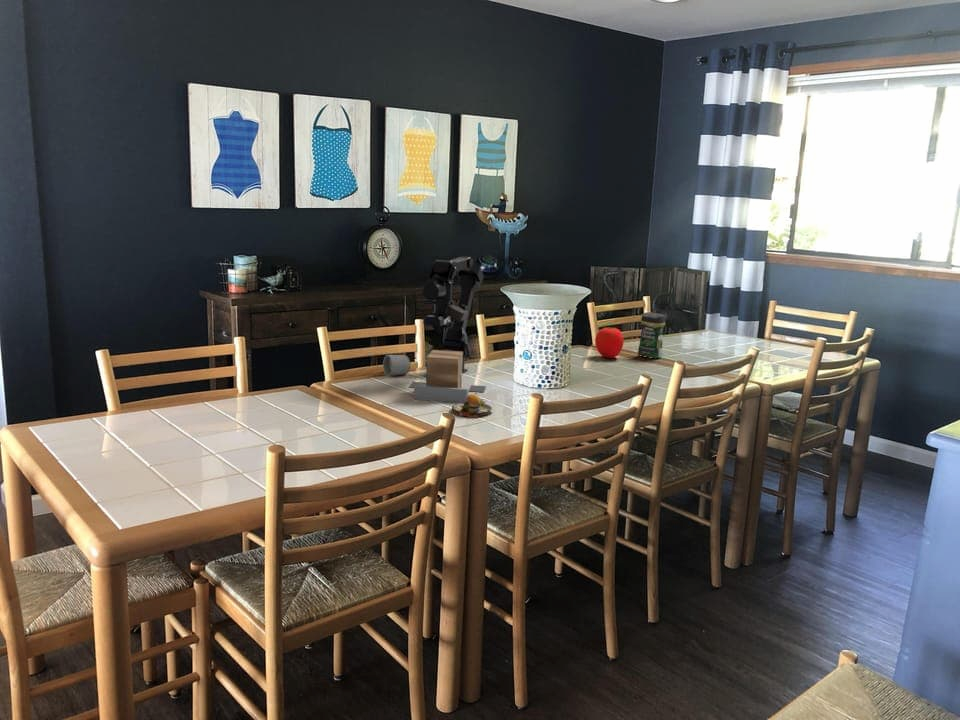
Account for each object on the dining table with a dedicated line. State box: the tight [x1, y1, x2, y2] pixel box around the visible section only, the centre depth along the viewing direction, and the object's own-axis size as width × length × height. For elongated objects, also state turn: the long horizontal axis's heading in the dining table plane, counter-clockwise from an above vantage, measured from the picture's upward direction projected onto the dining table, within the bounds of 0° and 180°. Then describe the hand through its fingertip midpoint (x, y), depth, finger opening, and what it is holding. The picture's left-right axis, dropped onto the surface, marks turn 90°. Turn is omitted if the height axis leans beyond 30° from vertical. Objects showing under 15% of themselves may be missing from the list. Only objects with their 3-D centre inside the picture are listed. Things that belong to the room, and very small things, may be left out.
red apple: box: [594, 326, 625, 359], centre depth 317 cm, size 11×11×13 cm
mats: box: [408, 381, 487, 393], centre depth 259 cm, size 8×25×1 cm, turn 85°
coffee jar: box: [637, 311, 666, 359], centre depth 322 cm, size 10×8×19 cm
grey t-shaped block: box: [413, 385, 470, 403], centre depth 246 cm, size 8×16×4 cm, turn 85°
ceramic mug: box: [382, 354, 411, 377], centre depth 275 cm, size 10×8×7 cm
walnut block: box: [425, 349, 463, 388], centre depth 250 cm, size 12×10×13 cm
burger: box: [451, 392, 493, 419], centre depth 230 cm, size 12×12×8 cm
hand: (441, 342), depth 267 cm, fingers closed
